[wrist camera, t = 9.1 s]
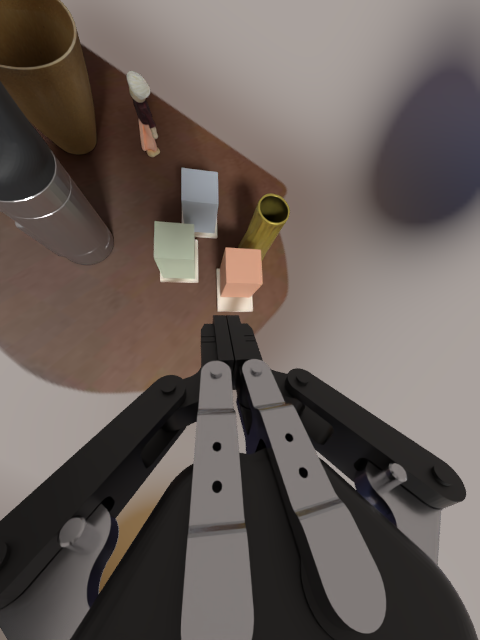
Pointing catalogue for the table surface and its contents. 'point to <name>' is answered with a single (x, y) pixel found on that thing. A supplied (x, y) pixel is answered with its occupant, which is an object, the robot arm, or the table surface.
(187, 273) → the sage block
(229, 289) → the terracotta block
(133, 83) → the grandmother figurine
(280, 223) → the vase
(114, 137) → the table surface
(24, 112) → the plant pot
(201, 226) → the slate block
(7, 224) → the table surface
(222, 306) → the block bases
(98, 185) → the table surface
